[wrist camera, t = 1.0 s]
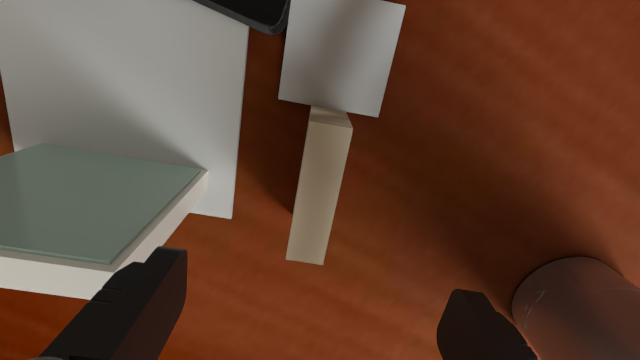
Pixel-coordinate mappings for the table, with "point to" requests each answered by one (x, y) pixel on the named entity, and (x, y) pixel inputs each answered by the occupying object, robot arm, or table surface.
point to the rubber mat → (129, 83)
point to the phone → (254, 13)
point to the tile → (85, 215)
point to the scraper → (332, 99)
